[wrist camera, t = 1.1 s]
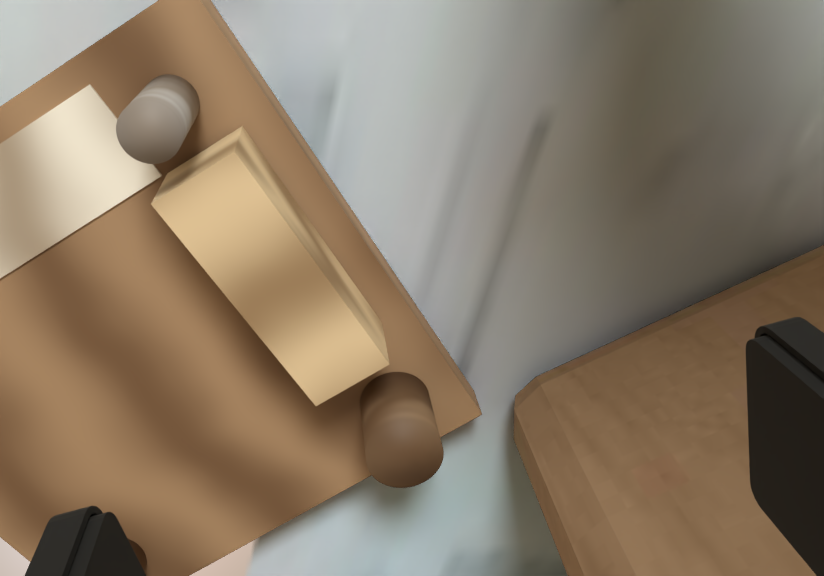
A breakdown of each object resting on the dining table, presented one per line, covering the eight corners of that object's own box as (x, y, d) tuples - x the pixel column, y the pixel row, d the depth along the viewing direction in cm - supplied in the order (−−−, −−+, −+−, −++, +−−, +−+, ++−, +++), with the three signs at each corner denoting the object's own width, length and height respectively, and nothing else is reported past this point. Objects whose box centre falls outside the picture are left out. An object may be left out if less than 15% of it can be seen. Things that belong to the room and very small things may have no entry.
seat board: (194, -23, 28) (166, -8, 22) (473, 390, 37) (503, 475, 32) (-254, 277, 31) (-382, 360, 25) (113, 590, 40) (81, 702, 35)
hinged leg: (167, 173, 29) (150, 204, 26) (242, 126, 28) (234, 151, 25) (315, 361, 33) (315, 406, 30) (381, 322, 33) (389, 364, 29)
